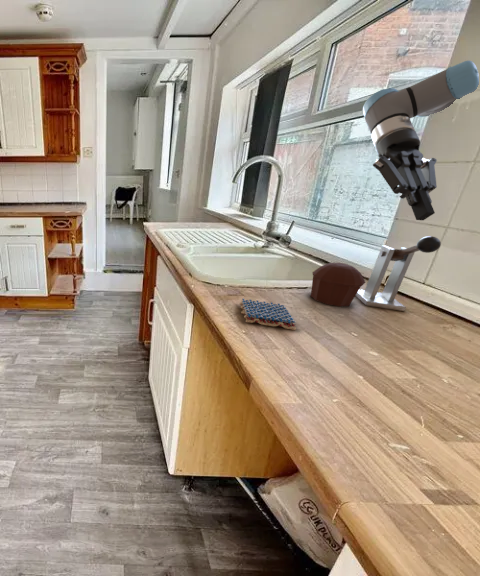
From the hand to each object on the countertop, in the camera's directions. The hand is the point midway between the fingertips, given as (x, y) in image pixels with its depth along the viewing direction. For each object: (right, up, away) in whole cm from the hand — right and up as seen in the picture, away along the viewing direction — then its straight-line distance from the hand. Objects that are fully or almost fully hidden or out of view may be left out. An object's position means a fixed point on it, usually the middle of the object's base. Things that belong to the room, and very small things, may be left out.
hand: (425, 216), depth 68 cm
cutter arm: (+1, -9, +4) cm, 10 cm away
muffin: (-10, -19, +15) cm, 26 cm away
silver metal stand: (+3, -20, +15) cm, 25 cm away
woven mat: (-34, -23, +3) cm, 41 cm away
